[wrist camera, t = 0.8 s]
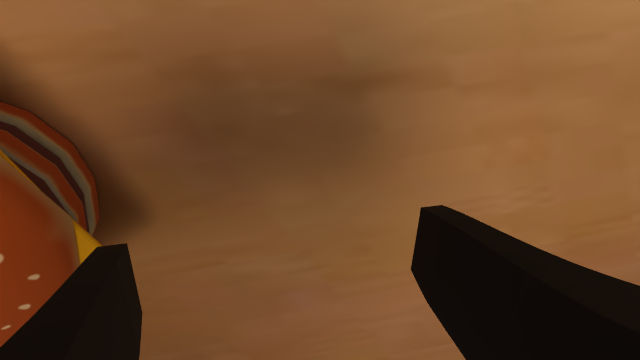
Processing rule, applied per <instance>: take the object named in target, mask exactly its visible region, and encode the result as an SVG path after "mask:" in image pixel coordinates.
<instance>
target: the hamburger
mask: <svg viewBox="0 0 640 360" xmlns="http://www.w3.org/2000/svg"><path fill="white" fill-rule="evenodd" d="M99 219H100V212H99V205H98V197H97V190H96V182H95V178H94V176H93V175H92V173H91V172H90V170H89V169H88V167H87V166H86V164H85V163H84V161H83V160H82V158H81V157H80V155H79V153H78V152H77V150H76V149H75V147H74V146H73V144H72V143H71V142H69V141H68V140H67V139H65V138H64V137H63V136H61V135H60V134H59V133H57V132H56V131H55V130H53V129H52V128H51V127H49V126H48V125H47V124H45V123H44V122H42V121H41V120H40V119H38V118H37V117H36V116H34V115H33V114H32V113H30V112H29V111H26V110H23V109H20V108H17V107H14V106H12V105H9V104H6V103H3V102H0V347H1V346H2V345H3V344H4V343H5V342H6V341H7V340H8V339H9V338H10V337H11V336H12V335H13V334H15V333H16V332H17V331H18V330H19V329H20V328H21V327H22V326H23V325H24V324H25V323H26V322H27V321H28V320H29V319H30V318H31V317H32V316H33V315H34V314H35V313H36V312H37V311H38V310H39V309H40V308H41V307H42V306H43V304H44V303H45V302H46V301H47V300H48V299H49V298H50V297H51V296H52V295H53V294H54V293H55V292H56V291H57V290H58V289H59V288H60V286H61V285H62V284H63V283H64V282H65V281H66V280H67V279H68V278H69V277H70V275H71V274H72V273H73V272H74V271H75V270H76V269H77V268H78V267H79V266H80V264H81V263H82V262H83V261H84V260H85V259H86V258H87V257H88V256H89V255H90V254H91V253H92V252H93V251H94V249H95V248H96V247H101V246H102V245H101V244H100V243H99V242H98V241H97V240H96V239H95V238H93V234H94V232H95V229H96V227H97V224H98V221H99Z"/></svg>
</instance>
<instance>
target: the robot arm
mask: <svg viewBox="0 0 640 360" xmlns="http://www.w3.org/2000/svg"><path fill="white" fill-rule="evenodd" d="M411 271H412V273H413V275H414V277H415V279H416V281H417V283H418V285H419V288H420V289H421V291H422V293H423V295H424V297H425V299H426V301H427V303H428V304H429V306H430V307H431V309H432V310H433V312H434V313H435V315H436V316H437V318H438V319H439V321H440V322H441V324H442V325H443V327H444V328H445V330H446V331H447V333H448V334H449V336H450V337H451V338H452V340H453V341H454V343H455V344H456V346H457V347H458V349H459V350H460V352H461V353H462V354H463V356H464V357H465V359H466V360H640V286H638V285H635V284H632V283H629V282H626V281H623V280H620V279H617V278H614V277H611V276H608V275H605V274H602V273H600V272H597V271H594V270H591V269H588V268H585V267H583V266H580V265H577V264H575V263H572V262H570V261H567V260H565V259H562V258H560V257H558V256H555V255H553V254H550V253H548V252H546V251H543V250H541V249H538V248H536V247H534V246H532V245H529V244H527V243H525V242H523V241H521V240H518V239H516V238H514V237H512V236H510V235H508V234H506V233H503V232H501V231H499V230H497V229H495V228H493V227H491V226H489V225H486V224H484V223H482V222H480V221H478V220H476V219H474V218H472V217H469V216H467V215H465V214H463V213H461V212H458V211H456V210H453V209H451V208H448V207H446V206H443V205H439V206H431V207H422V208H421V211H420V217H419V223H418V229H417V235H416V242H415V248H414V254H413V260H412V266H411ZM141 325H142V310H141V305H140V300H139V296H138V291H137V287H136V282H135V278H134V273H133V269H132V264H131V260H130V255H129V251H128V246H127V243H126V244H117V245H109V246H101V247H96V248H95V249H94V251H93V252H92V253H91V254H90V255H89V256H88V257H87V258H86V259H85V260H84V261H83V262H82V263H81V264H80V266H79V267H78V268H77V269H76V270H75V271H74V272H73V273H72V274H71V275H70V277H69V278H68V279H67V280H66V281H65V282H64V283H63V284H62V285H61V286H60V288H59V289H58V290H57V291H56V292H55V293H54V294H53V295H52V296H51V297H50V298H49V299H48V300H47V301H46V302H45V303H44V304H43V306H42V307H41V308H40V309H39V310H38V311H37V312H36V313H35V314H34V315H33V316H32V317H31V318H30V319H29V320H28V321H27V322H26V323H25V324H24V325H23V326H22V327H21V328H20V329H19V330H18V331H17V332H16V333H15V334H13V335H12V336H11V337H10V338H9V339H8V340H7V341H6V342H5V343H4V344H3V345H2V346H1V347H0V360H139V354H140V340H141Z"/></svg>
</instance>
